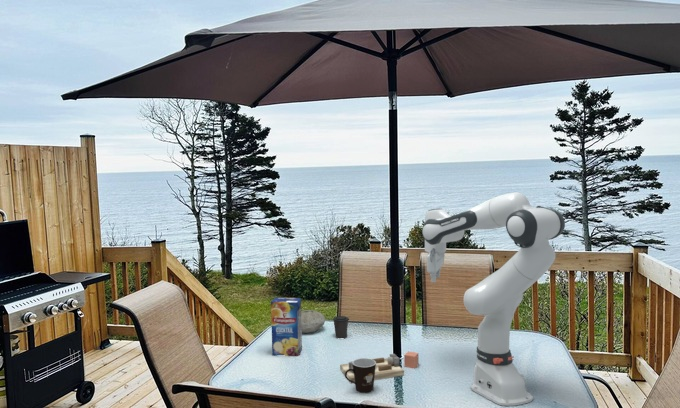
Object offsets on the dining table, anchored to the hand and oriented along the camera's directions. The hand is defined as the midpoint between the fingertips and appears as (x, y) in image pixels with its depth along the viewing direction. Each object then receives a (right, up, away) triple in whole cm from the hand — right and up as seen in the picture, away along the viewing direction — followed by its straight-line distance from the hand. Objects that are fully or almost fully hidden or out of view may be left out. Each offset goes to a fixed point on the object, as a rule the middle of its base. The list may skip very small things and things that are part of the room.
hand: (435, 279), depth 203 cm
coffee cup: (-40, -34, +34) cm, 62 cm away
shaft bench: (-28, -36, -9) cm, 46 cm away
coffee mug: (-33, -37, -24) cm, 55 cm away
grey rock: (-57, -33, +45) cm, 80 cm away
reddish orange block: (-11, -35, -3) cm, 37 cm away
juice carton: (-64, -35, +14) cm, 74 cm away
